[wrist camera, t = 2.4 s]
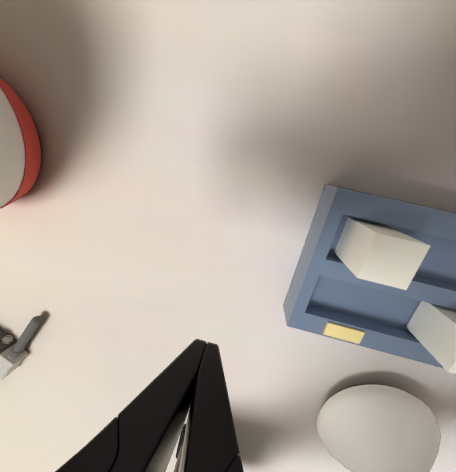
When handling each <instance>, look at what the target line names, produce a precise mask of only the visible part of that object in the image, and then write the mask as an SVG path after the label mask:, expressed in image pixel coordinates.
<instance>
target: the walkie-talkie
mask: <svg viewBox="0 0 456 472" xmlns="http://www.w3.org/2000/svg"><path fill="white" fill-rule="evenodd" d="M40 323H41V317H40V316H36V317H34V318H32V320H31V321H30V323H29V324H28V326H27V327H26V329H25V330H24V332H23V334H22V335H21V337H20V338H19V340H18V341H17V343H15V340H14V339H13V336H12V335H7V334H6V333H5V332H3V331H2V330H1V329H0V379H3V378H5V377H6V376H7V375H8V374H10V373H11V372H12V371H13V370H14V369H16V368H17V367H18V365H19V364H20V362H21V361H22V360H23V359H24V358H25V357H26V356H27V354H28V352H27V351H26V350H25V346H26V344H27V343H28V341H29V340H30V338H31V337H32V335H33V334H34V333H35V331H36V329H37V328H38V326H39V325H40Z"/></svg>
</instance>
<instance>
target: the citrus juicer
mask: <svg viewBox="0 0 456 472" xmlns="http://www.w3.org/2000/svg"><path fill="white" fill-rule="evenodd" d="M40 163H41V147H40V142H39V137H38V133H37V130H36V127H35V124H34V121H33V119H32V117H31V115H30V113H29V111H28V109H27V108H26V106H25V104H24V103H23V102H22V100H21V99H20V97H19V96H18V95H17V93H16V92H15V91H14V90H13V89H12V88H11V87H10V86H9V85H8V84H7V83H6V82H5V81H3V80H2V79H1V78H0V208H3V207H5V206H7V205H8V204H10V203H12V202H14V201H15V200H17V199H18V198H20V197H21V196H23V195H24V194H25V193H27V192H28V191H29V190H30V189H31V187H32V186H33V184H34V183H35V182H36V179H37V176H38V174H39V170H40Z"/></svg>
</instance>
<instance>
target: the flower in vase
mask: <svg viewBox="0 0 456 472" xmlns="http://www.w3.org/2000/svg"><path fill="white" fill-rule="evenodd" d="M317 431H318V435H319V437H320V439H321V441H322V443H323V444H324V446H325V448H326V449H327V451H328V452H329V453H330V454H331V455H332V456H333V457H334V458H335V459H336V460H337V461H338V462H340V463H341V464H342V465H343V466H344V467H346V468H347V469H349V470H350V471H352V472H430V470H431V468H432V466H433V464H434V461H435V459H436V457H437V454H438V450H439V445H440V439H441V436H440V430H439V427H438V424H437V420H436V417H435V415H434V414H433V412H432V411H431V409H430V408H429V407H428V406H427V405H426V404H425V403H424V402H422V401H421V400H419V399H418V398H416V397H414V396H413V395H411V394H409V393H407V392H405V391H403V390H400V389H398V388H394V387H390V386H385V385H376V384H375V385H359V386H354V387H350V388H347V389H344V390H342V391H340V392H338V393H336V394H335V395H333V396H332V397H330V398H329V399H328V400H327V401H326V402H325V404H324V405H323V407H322V409H321V411H320V413H319V416H318V419H317Z"/></svg>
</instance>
